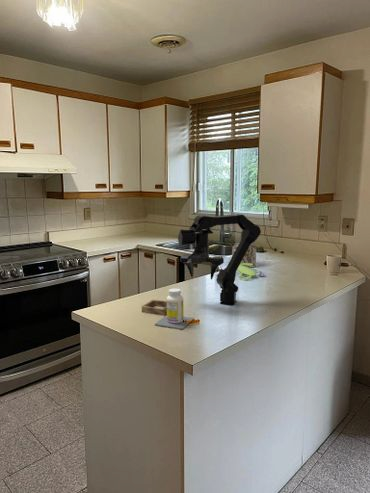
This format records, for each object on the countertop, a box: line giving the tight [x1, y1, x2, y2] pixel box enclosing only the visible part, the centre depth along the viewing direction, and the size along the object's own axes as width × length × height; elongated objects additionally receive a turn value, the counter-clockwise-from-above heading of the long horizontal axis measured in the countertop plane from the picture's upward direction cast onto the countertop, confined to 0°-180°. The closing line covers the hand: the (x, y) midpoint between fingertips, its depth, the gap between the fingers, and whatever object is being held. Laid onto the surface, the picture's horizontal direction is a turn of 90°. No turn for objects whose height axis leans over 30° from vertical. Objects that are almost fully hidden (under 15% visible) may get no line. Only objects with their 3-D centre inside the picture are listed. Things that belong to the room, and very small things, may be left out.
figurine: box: [237, 263, 265, 281], centre depth 228 cm, size 18×27×6 cm
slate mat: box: [154, 314, 195, 331], centre depth 150 cm, size 12×12×1 cm
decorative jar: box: [231, 241, 257, 269], centre depth 248 cm, size 12×12×18 cm
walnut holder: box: [141, 299, 167, 316], centre depth 165 cm, size 11×11×2 cm
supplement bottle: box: [166, 288, 185, 323], centre depth 149 cm, size 7×7×13 cm
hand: (201, 278), depth 168 cm, fingers open, 9 cm apart
